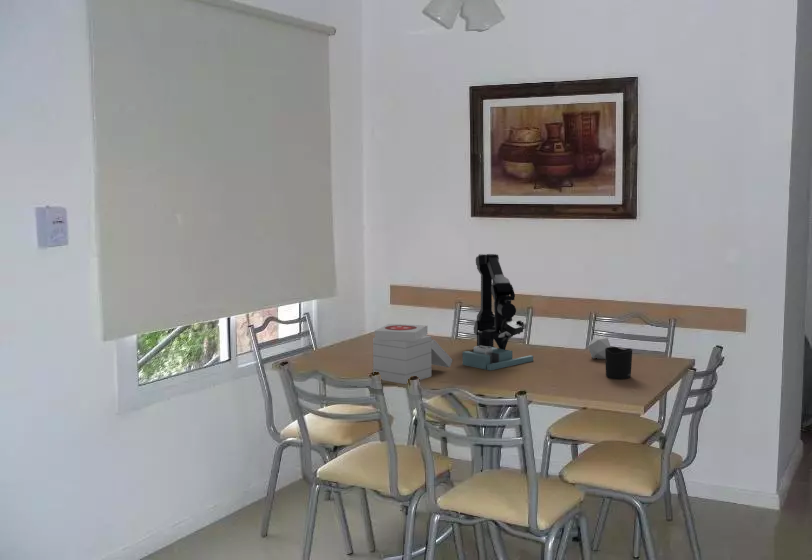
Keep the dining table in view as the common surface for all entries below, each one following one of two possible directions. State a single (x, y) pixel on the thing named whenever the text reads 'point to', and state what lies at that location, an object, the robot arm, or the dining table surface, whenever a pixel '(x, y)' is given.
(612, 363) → the pen holder
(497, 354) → the block
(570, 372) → the dining table surface
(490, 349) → the steel block
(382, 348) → the pizza boxes
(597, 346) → the die
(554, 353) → the dining table surface
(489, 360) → the vise body
